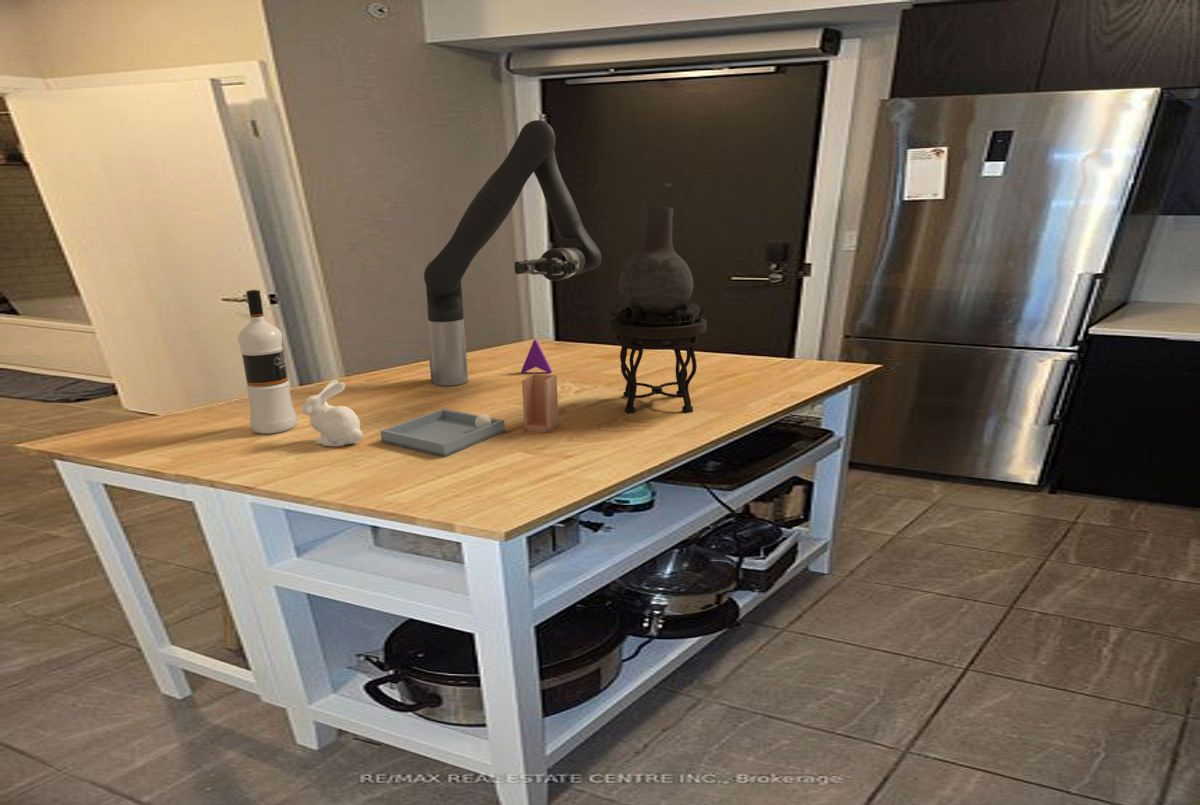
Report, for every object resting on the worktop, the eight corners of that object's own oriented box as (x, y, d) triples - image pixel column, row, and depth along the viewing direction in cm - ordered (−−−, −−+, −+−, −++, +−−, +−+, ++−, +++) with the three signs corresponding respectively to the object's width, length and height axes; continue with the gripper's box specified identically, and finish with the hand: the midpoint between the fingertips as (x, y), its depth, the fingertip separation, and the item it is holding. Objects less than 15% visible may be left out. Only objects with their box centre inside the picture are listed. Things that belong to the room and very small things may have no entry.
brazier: (598, 413, 153) (594, 207, 140) (622, 389, 173) (620, 207, 161) (697, 420, 147) (702, 205, 134) (709, 393, 168) (714, 205, 155)
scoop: (524, 430, 142) (521, 380, 139) (534, 422, 147) (531, 373, 144) (549, 432, 140) (547, 381, 137) (558, 424, 146) (556, 375, 143)
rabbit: (302, 444, 136) (293, 387, 133) (335, 430, 144) (328, 376, 141) (349, 451, 132) (341, 392, 128) (381, 436, 140) (374, 380, 137)
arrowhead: (537, 386, 195) (560, 363, 192) (536, 388, 193) (560, 364, 191) (512, 363, 194) (535, 338, 191) (511, 364, 192) (534, 339, 190)
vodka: (251, 425, 149) (228, 289, 141) (297, 419, 153) (277, 286, 144) (251, 437, 141) (226, 293, 133) (299, 431, 145) (278, 290, 136)
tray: (381, 442, 136) (380, 430, 136) (444, 419, 151) (443, 408, 150) (445, 457, 127) (444, 444, 127) (505, 431, 142) (504, 420, 141)
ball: (471, 420, 142) (475, 411, 139) (487, 419, 143) (491, 410, 141) (475, 434, 140) (478, 425, 138) (490, 432, 142) (494, 424, 139)
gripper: (532, 248, 166) (504, 252, 151) (587, 248, 162) (564, 252, 147) (533, 279, 168) (506, 286, 153) (588, 279, 164) (565, 286, 149)
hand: (534, 269), depth 150 cm, fingers open, 8 cm apart
